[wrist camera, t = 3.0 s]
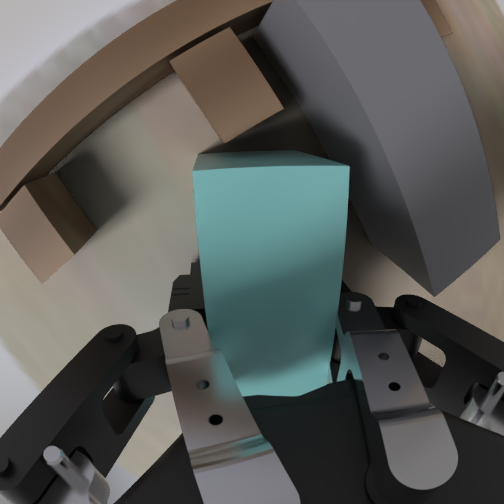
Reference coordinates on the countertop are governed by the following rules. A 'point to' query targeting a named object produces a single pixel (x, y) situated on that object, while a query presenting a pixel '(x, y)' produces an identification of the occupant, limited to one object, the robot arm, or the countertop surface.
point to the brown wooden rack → (120, 94)
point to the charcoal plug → (391, 127)
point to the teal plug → (272, 264)
